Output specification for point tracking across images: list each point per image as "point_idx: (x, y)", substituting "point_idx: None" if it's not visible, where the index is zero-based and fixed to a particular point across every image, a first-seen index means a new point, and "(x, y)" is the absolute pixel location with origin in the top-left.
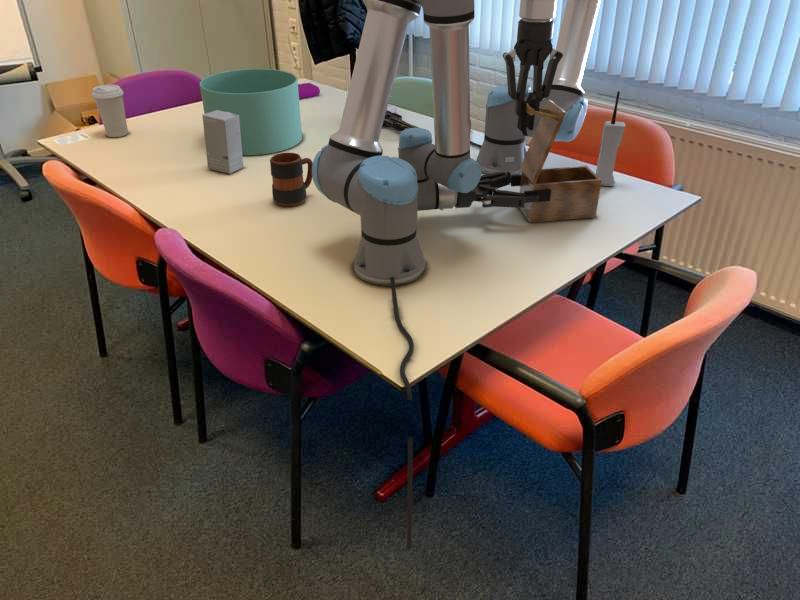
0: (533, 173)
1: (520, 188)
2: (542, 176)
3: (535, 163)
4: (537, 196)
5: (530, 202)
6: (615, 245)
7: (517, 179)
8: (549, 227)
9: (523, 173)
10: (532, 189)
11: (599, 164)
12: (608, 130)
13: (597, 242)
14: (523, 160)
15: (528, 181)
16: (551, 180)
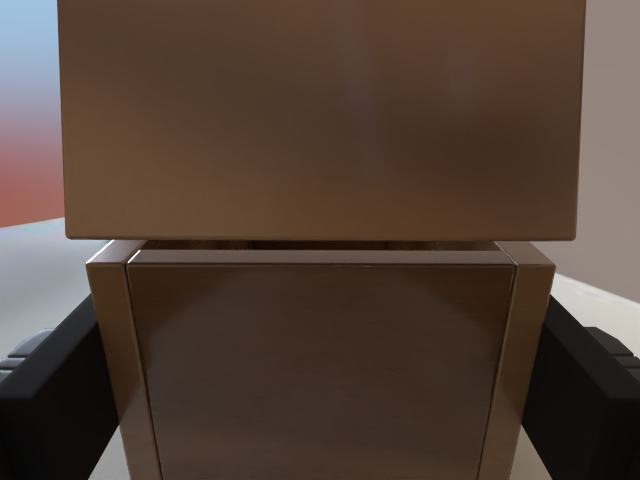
0: (510, 137)
1: (136, 443)
2: (199, 240)
3: (450, 14)
4: (608, 340)
5: (477, 451)
6: (630, 306)
7: (83, 388)
8: (533, 469)
9: (160, 271)
10: (520, 321)
11: None
12: None
13: (634, 339)
14: (65, 122)
15: (364, 291)
16: (218, 246)
